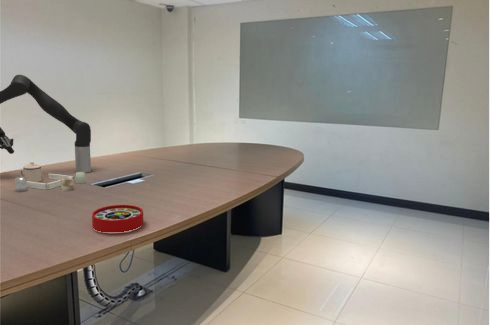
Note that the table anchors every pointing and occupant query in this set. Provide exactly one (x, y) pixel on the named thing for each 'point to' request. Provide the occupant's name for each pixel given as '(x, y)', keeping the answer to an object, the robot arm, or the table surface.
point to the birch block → (66, 184)
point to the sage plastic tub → (80, 177)
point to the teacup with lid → (32, 172)
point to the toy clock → (117, 218)
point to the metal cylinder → (21, 184)
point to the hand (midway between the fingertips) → (12, 152)
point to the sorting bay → (49, 185)
